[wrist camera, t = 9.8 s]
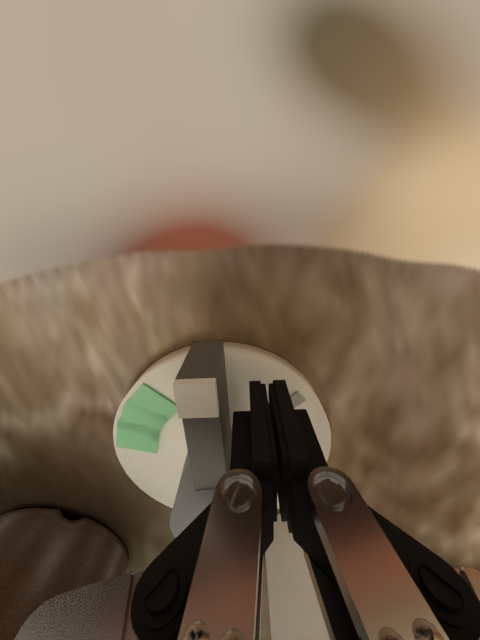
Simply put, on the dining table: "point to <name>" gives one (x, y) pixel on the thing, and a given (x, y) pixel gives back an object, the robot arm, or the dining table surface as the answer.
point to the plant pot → (50, 560)
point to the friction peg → (201, 429)
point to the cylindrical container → (291, 590)
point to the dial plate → (167, 429)
